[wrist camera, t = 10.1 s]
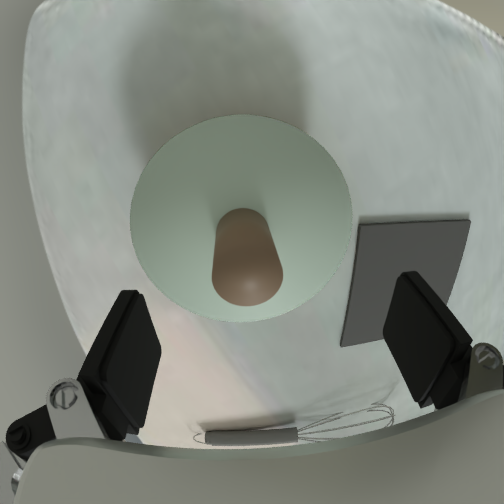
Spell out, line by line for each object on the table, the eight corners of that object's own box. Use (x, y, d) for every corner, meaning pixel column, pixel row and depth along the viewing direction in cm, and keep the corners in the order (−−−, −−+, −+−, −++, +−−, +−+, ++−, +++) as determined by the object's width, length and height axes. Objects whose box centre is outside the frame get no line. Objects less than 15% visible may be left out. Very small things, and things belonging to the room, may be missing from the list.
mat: (468, 219, 24) (471, 220, 24) (437, 322, 31) (438, 324, 31) (359, 224, 24) (360, 226, 23) (339, 345, 31) (340, 347, 30)
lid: (351, 115, 15) (403, 119, 10) (337, 305, 21) (363, 358, 16) (118, 131, 14) (68, 142, 9) (158, 320, 21) (143, 378, 15)
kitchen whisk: (189, 424, 38) (187, 457, 32) (391, 390, 39) (405, 419, 33) (198, 438, 40) (197, 469, 35) (382, 408, 41) (394, 434, 36)
